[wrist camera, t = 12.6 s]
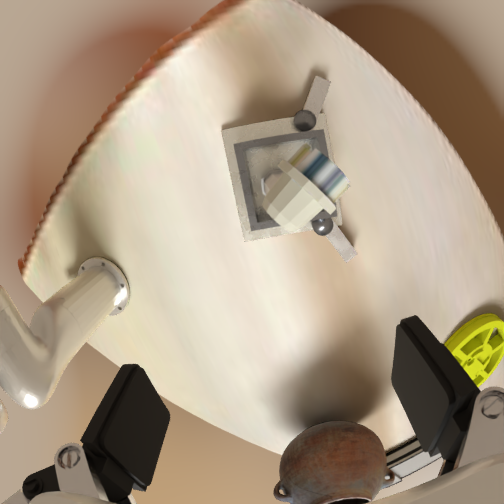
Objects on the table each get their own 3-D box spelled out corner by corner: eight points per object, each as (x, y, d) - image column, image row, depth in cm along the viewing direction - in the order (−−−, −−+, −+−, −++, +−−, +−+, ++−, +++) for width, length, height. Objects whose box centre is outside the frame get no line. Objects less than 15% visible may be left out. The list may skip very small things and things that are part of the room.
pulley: (434, 406, 60) (440, 417, 55) (415, 359, 54) (423, 373, 49) (502, 352, 54) (510, 361, 49) (497, 292, 47) (509, 301, 42)
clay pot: (366, 381, 55) (402, 489, 27) (378, 428, 62) (402, 511, 34) (263, 414, 60) (260, 522, 32) (295, 454, 67) (299, 537, 38)
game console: (452, 434, 67) (459, 448, 60) (382, 472, 75) (386, 487, 67) (446, 417, 63) (455, 433, 55) (366, 461, 70) (370, 479, 62)
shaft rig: (252, 273, 48) (249, 292, 41) (214, 96, 38) (205, 85, 32) (353, 255, 46) (366, 271, 39) (326, 78, 36) (336, 65, 30)
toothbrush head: (253, 182, 42) (238, 213, 18) (282, 150, 40) (307, 137, 16) (279, 204, 43) (297, 264, 19) (308, 173, 41) (364, 193, 17)
